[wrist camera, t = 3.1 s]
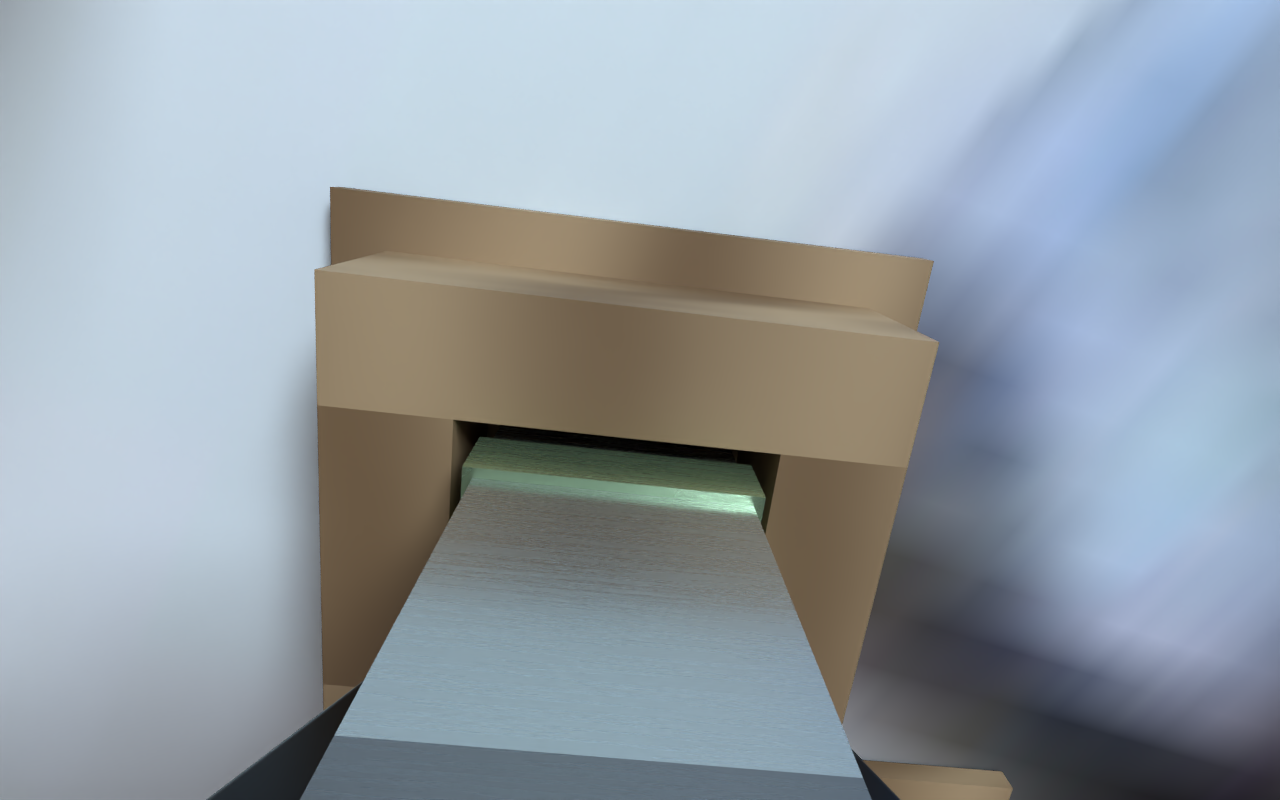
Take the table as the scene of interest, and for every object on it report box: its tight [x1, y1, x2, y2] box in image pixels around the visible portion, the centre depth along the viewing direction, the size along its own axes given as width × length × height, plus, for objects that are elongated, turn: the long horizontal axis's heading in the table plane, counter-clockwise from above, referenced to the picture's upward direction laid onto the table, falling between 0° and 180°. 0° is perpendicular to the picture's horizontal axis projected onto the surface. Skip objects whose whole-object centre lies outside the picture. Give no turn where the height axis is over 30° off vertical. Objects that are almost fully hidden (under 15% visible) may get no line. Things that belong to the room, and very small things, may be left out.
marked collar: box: [315, 187, 939, 724], centre depth 12 cm, size 11×11×4 cm
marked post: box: [300, 425, 872, 800], centre depth 9 cm, size 4×4×8 cm
